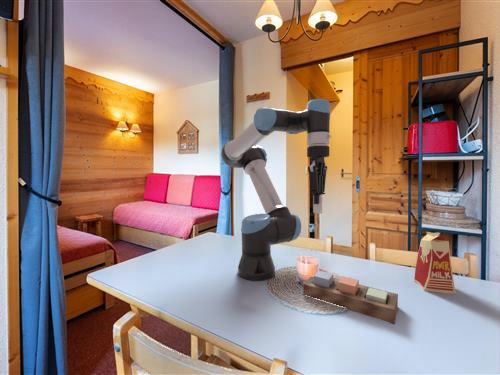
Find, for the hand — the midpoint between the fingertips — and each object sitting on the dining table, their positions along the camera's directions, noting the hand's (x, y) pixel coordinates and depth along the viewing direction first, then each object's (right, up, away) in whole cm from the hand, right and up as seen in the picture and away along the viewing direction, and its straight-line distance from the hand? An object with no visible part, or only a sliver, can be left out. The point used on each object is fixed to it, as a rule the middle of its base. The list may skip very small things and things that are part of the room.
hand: (317, 212), depth 85 cm
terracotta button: (+7, -25, -9) cm, 28 cm away
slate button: (+1, -25, -5) cm, 25 cm away
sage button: (+14, -27, -14) cm, 33 cm away
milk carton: (+41, -26, 0) cm, 48 cm away
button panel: (+7, -27, -9) cm, 29 cm away
